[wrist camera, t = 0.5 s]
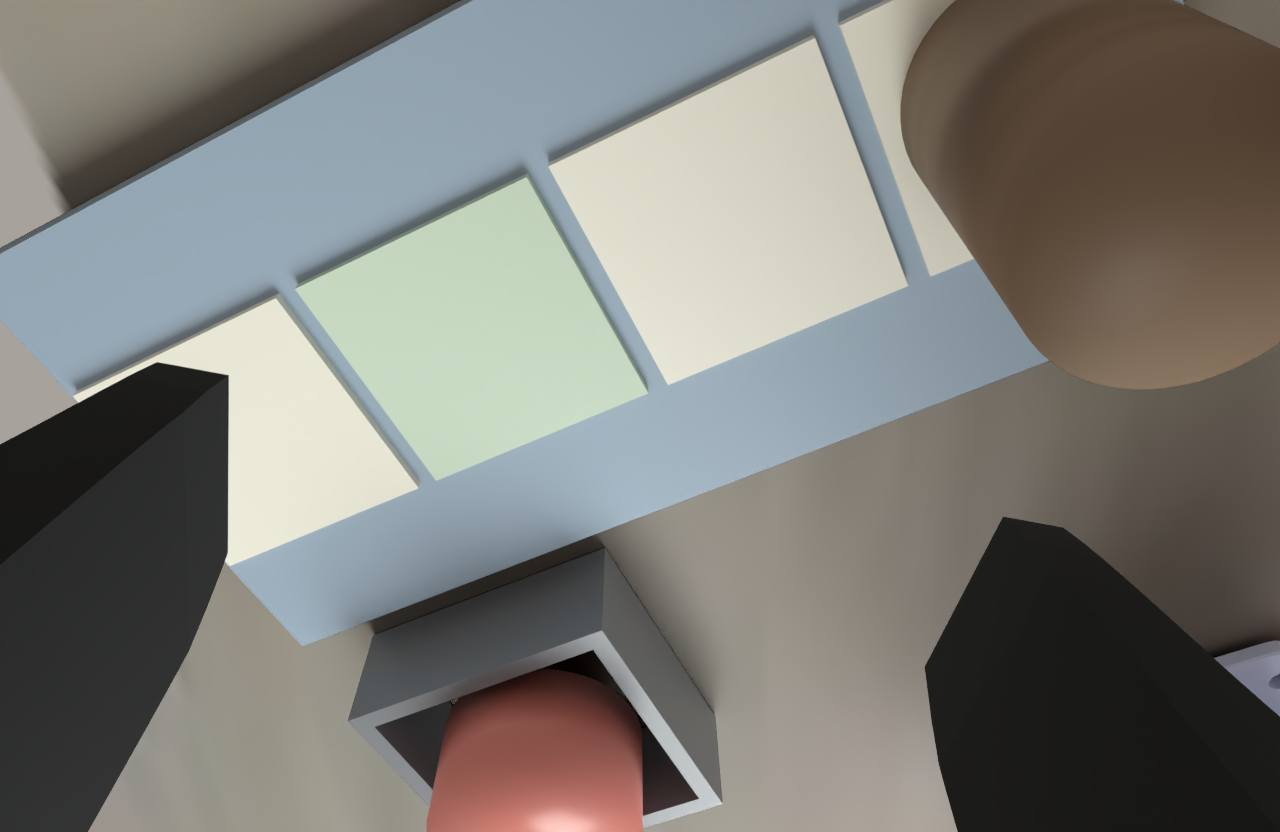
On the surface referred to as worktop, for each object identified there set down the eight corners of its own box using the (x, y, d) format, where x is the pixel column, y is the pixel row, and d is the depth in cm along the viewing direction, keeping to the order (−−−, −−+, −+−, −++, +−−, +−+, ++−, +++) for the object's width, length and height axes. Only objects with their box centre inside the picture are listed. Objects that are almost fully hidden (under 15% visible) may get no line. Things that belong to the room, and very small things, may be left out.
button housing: (715, 716, 25) (722, 803, 23) (503, 785, 27) (492, 874, 24) (605, 547, 22) (601, 630, 20) (373, 635, 24) (347, 721, 22)
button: (674, 767, 23) (678, 862, 21) (507, 820, 24) (496, 915, 22) (585, 643, 21) (581, 736, 19) (406, 707, 22) (384, 801, 20)
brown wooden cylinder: (1182, 155, 16) (1394, 311, 12) (942, 255, 17) (1053, 435, 13) (1132, -93, 15) (1365, -22, 10) (865, 34, 15) (963, 154, 11)
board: (1214, 270, 19) (1242, 294, 18) (312, 620, 23) (299, 652, 23) (1095, -342, 14) (1126, -349, 13) (-16, 256, 18) (-48, 280, 18)
